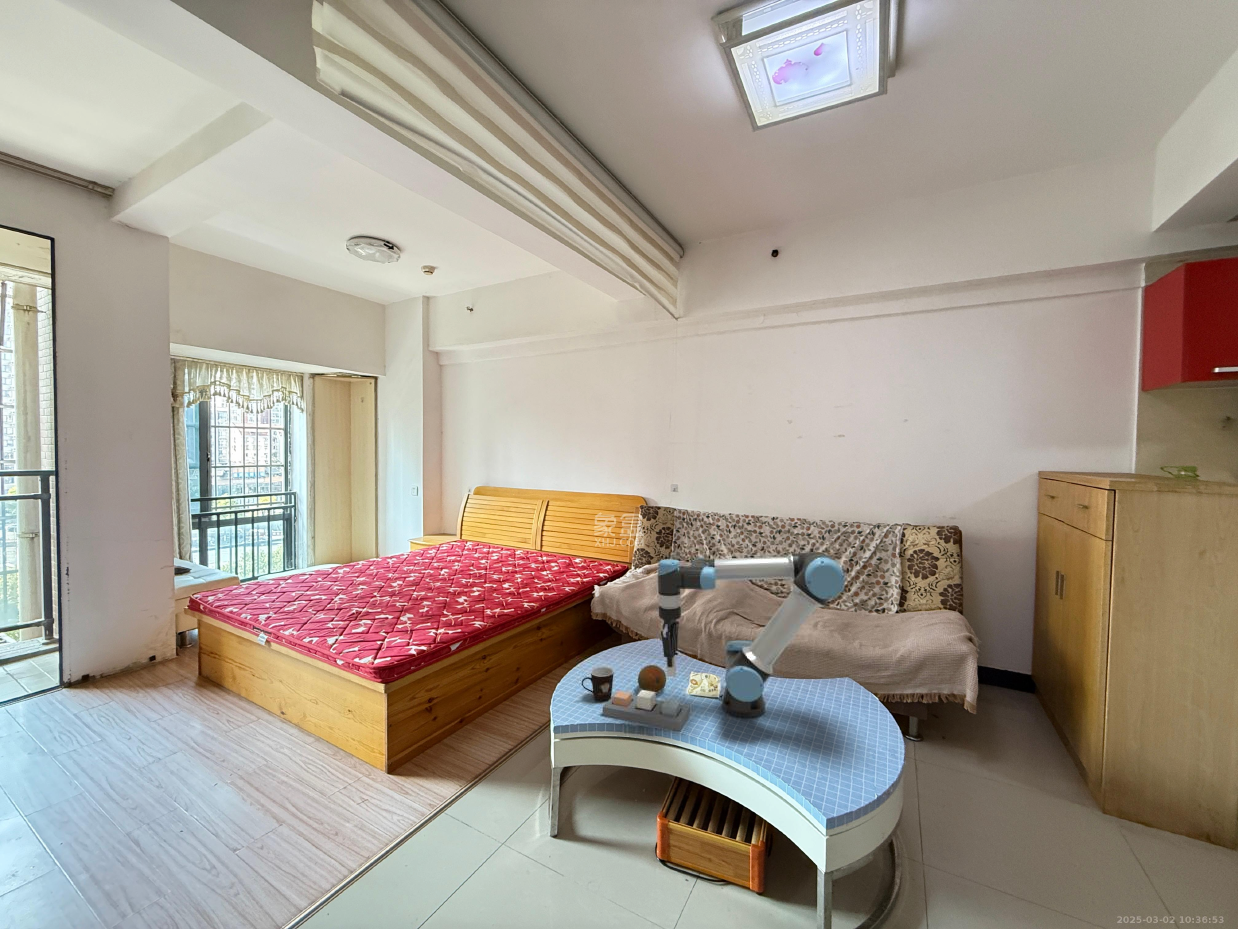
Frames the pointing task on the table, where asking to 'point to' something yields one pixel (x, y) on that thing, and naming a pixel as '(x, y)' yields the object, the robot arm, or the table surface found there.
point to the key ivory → (646, 700)
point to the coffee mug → (601, 683)
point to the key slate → (671, 708)
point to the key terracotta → (622, 698)
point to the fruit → (652, 678)
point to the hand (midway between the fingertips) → (671, 675)
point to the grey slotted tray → (647, 714)
